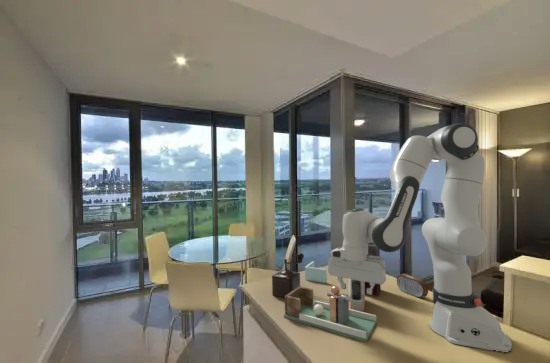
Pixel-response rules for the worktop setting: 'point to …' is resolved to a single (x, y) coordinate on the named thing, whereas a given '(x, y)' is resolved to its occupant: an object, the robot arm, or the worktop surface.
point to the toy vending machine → (376, 289)
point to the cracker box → (361, 306)
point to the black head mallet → (335, 295)
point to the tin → (412, 285)
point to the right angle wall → (315, 273)
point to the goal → (298, 300)
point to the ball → (318, 309)
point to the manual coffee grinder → (286, 279)
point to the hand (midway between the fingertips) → (356, 291)
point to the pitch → (339, 320)
